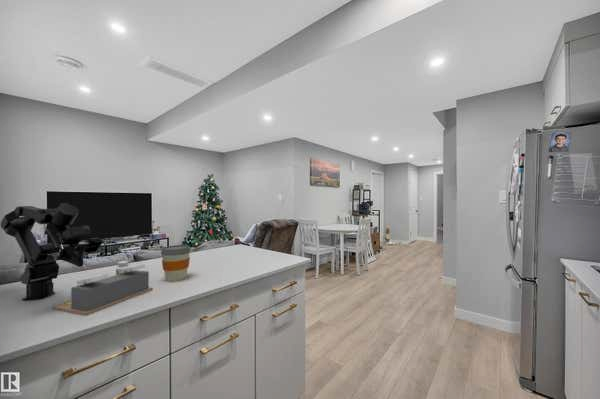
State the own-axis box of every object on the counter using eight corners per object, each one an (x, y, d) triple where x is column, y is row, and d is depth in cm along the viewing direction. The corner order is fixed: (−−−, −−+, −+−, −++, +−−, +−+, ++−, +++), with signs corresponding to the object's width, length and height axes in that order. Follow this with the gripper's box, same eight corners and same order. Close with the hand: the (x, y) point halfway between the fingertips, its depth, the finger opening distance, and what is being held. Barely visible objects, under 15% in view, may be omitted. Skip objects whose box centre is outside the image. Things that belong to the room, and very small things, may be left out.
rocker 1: (77, 285, 82) (76, 280, 82) (93, 281, 87) (92, 276, 87) (92, 283, 79) (92, 277, 80) (108, 278, 84) (108, 273, 84)
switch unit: (52, 309, 82) (52, 286, 82) (122, 286, 105) (122, 268, 105) (86, 315, 77) (86, 291, 77) (152, 289, 99) (152, 271, 100)
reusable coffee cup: (188, 280, 111) (188, 248, 111) (157, 283, 107) (157, 250, 107) (192, 273, 123) (192, 244, 123) (165, 275, 119) (165, 245, 119)
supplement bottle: (130, 280, 113) (130, 259, 113) (130, 283, 108) (130, 262, 109) (116, 282, 110) (116, 261, 110) (115, 285, 105) (115, 263, 106)
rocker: (118, 274, 95) (118, 270, 95) (131, 270, 100) (130, 266, 100) (133, 271, 93) (132, 267, 93) (145, 268, 98) (144, 264, 98)
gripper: (37, 220, 78) (58, 256, 75) (99, 217, 96) (119, 245, 92) (22, 244, 80) (42, 279, 77) (86, 236, 98) (105, 265, 95)
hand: (81, 265), depth 85 cm, fingers closed
